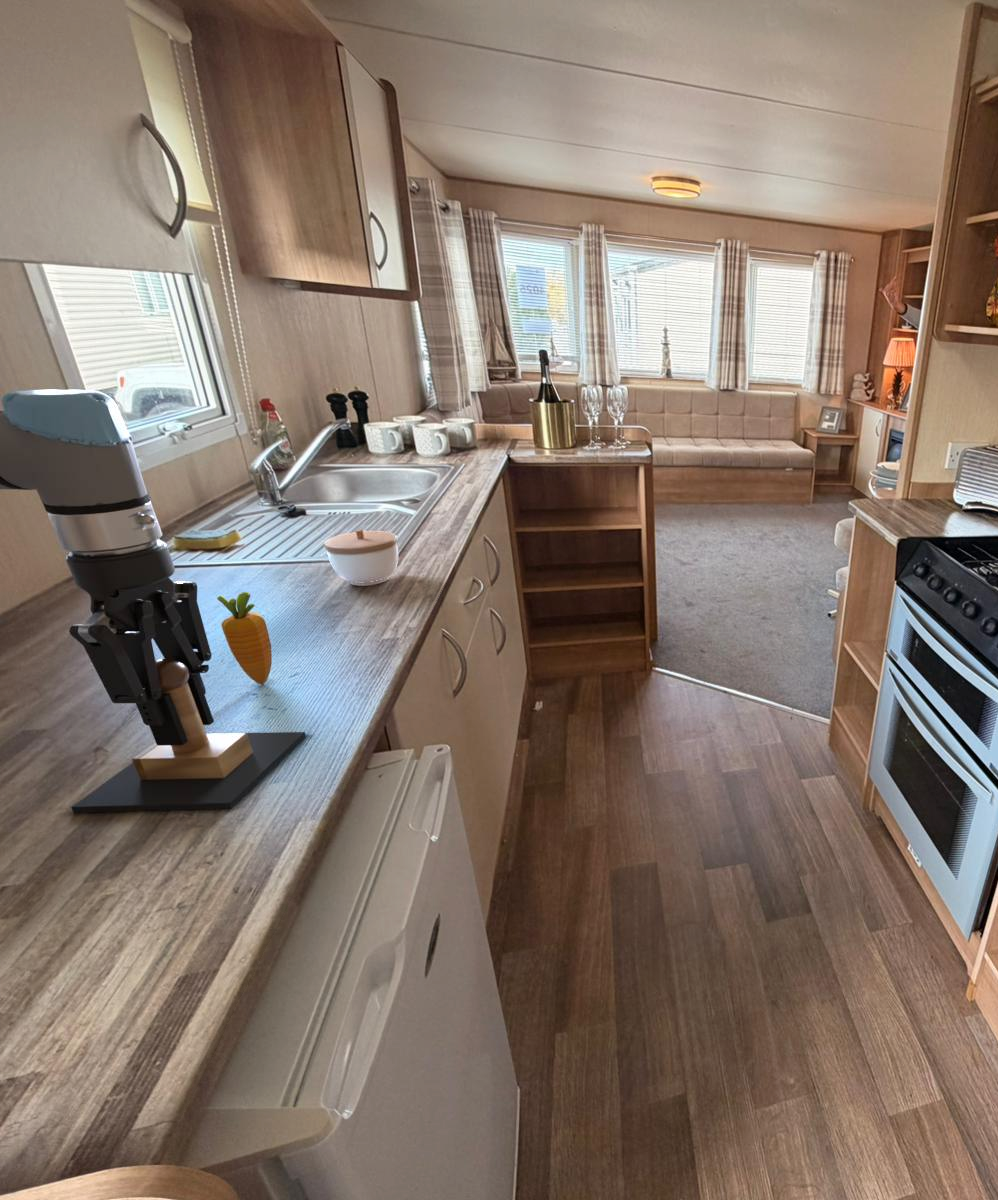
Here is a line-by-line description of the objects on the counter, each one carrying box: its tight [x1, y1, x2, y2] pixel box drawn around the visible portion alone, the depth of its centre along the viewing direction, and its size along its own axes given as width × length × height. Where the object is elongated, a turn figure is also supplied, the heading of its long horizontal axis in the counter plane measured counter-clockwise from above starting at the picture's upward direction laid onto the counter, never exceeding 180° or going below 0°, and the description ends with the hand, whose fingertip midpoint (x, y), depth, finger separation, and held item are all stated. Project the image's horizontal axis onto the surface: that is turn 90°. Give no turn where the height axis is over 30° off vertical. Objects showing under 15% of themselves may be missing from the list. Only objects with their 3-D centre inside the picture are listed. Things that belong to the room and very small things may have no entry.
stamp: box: [131, 658, 253, 780], centre depth 75 cm, size 9×5×14 cm, turn 96°
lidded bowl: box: [323, 529, 399, 587], centre depth 134 cm, size 13×13×11 cm
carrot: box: [216, 591, 273, 686], centre depth 93 cm, size 5×5×15 cm
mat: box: [70, 731, 307, 814], centre depth 77 cm, size 16×14×1 cm
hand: (186, 732), depth 75 cm, fingers closed on stamp, 3 cm apart
